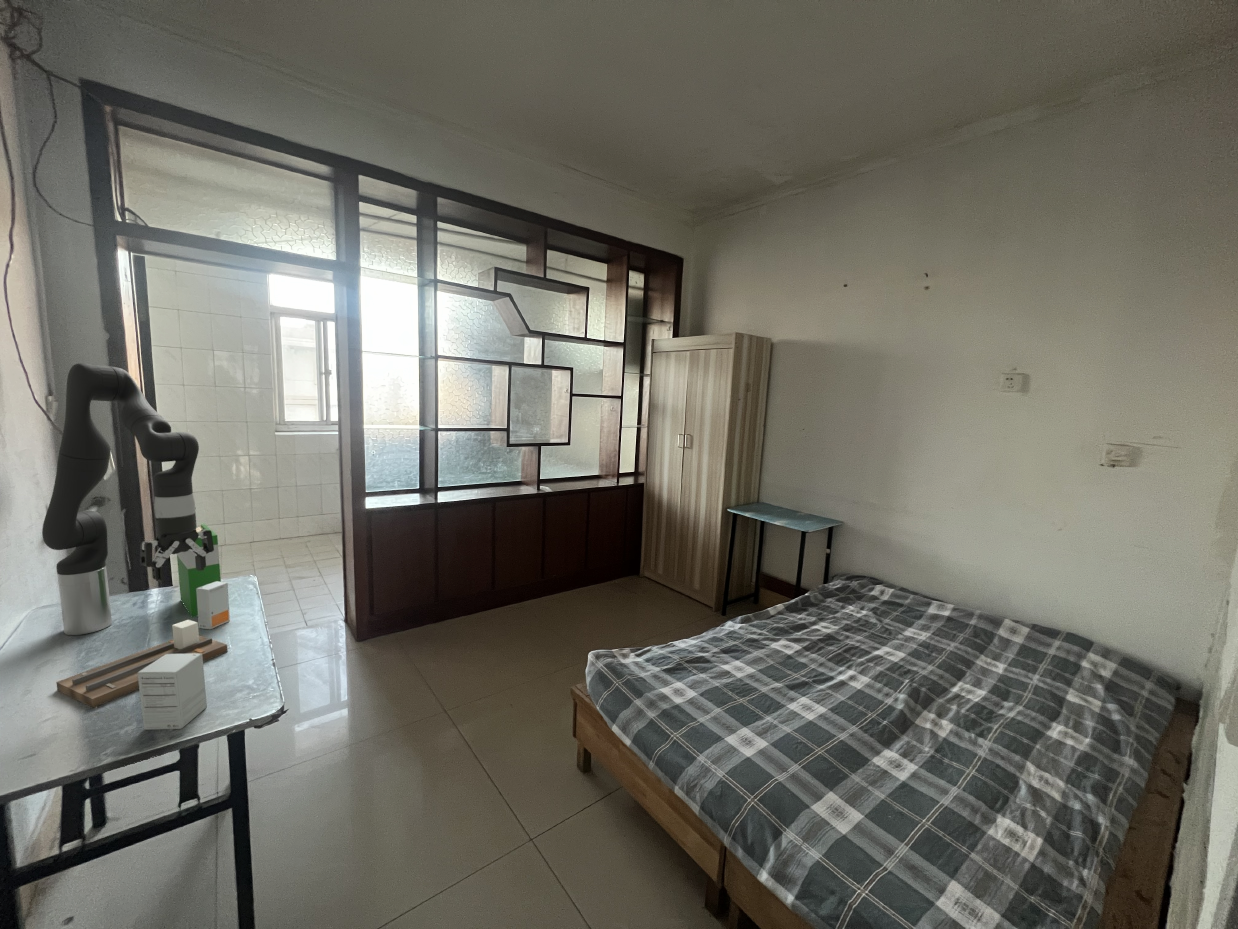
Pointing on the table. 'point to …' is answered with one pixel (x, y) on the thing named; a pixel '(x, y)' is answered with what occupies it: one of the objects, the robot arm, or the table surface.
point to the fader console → (128, 672)
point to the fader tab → (185, 634)
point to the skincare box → (213, 605)
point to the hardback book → (197, 572)
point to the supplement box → (172, 691)
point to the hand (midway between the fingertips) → (180, 575)
